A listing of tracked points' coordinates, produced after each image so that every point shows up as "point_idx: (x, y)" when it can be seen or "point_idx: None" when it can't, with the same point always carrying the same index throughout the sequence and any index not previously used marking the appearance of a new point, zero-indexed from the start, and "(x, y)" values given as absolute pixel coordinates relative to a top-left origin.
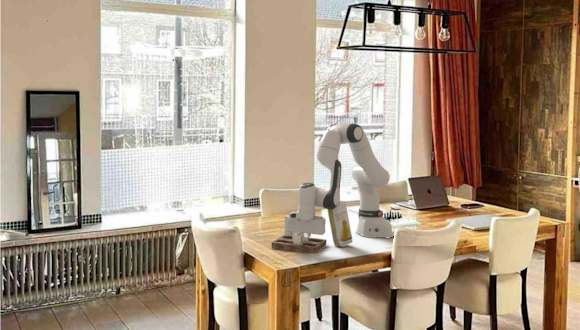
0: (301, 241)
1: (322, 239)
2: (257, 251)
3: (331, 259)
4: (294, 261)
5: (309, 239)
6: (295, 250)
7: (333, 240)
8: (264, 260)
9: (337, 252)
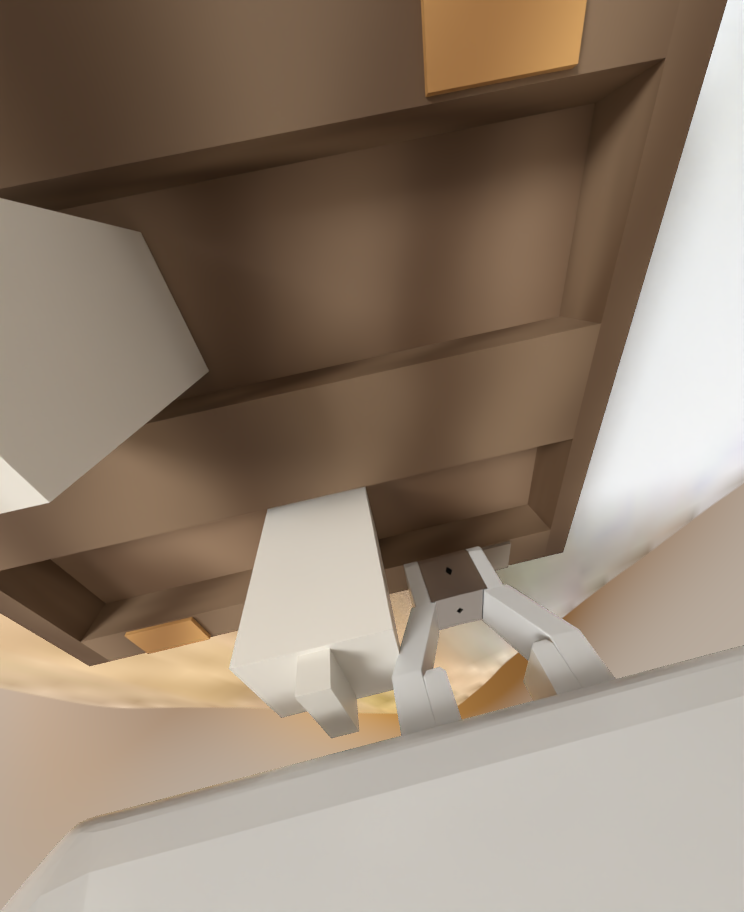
0: (383, 570)
1: None
2: (146, 681)
3: (655, 540)
4: (454, 656)
5: (286, 144)
6: None
7: None
8: None
9: (739, 358)
